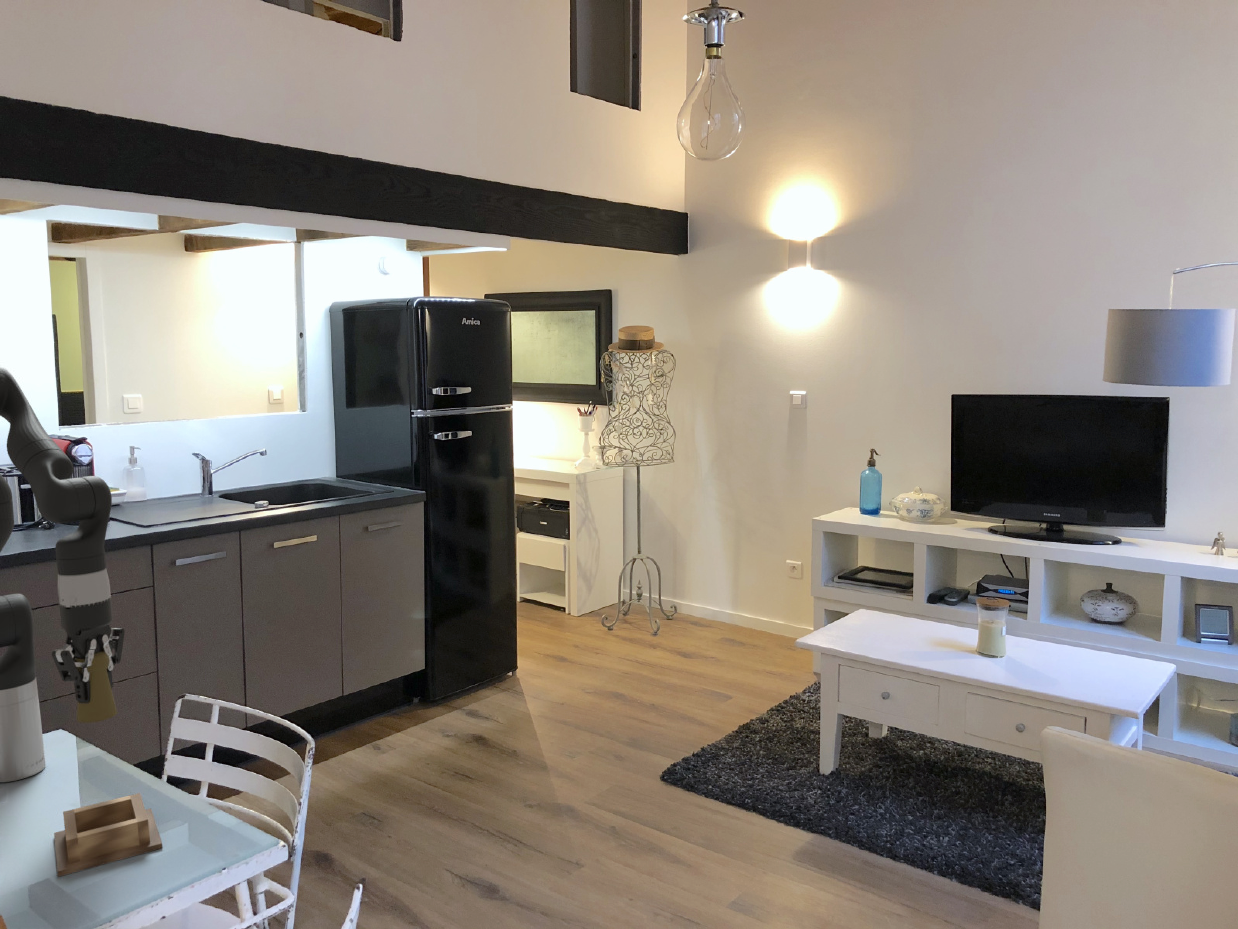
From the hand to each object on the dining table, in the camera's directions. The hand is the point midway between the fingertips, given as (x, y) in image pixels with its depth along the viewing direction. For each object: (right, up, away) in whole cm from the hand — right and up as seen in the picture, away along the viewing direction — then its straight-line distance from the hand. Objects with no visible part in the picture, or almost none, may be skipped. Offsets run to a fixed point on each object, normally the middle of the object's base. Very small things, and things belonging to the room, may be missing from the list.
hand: (95, 697), depth 160 cm
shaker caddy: (+8, -20, -10) cm, 24 cm away
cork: (0, -3, 0) cm, 4 cm away
